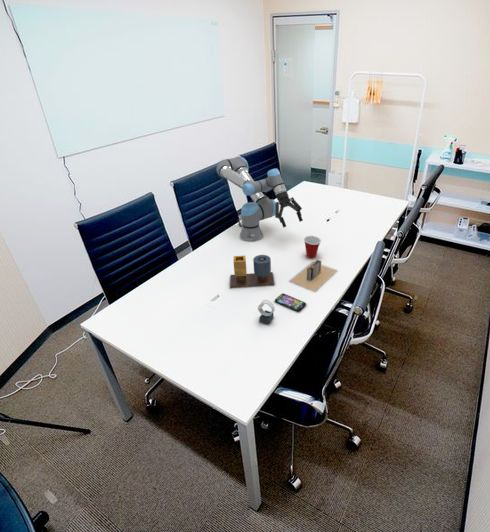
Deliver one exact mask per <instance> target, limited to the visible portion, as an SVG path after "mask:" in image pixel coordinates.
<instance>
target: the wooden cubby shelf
mask: <svg viewBox="0 0 490 532" xmlns="http://www.w3.org/2000/svg"><path fill="white" fill-rule="evenodd" d="M238 259H241V260H242V261H237V260H238ZM232 263H233V271H234V275H235V276H247V274H248V273H247V272H248V271H247V258H246V255H233V262H232Z"/></svg>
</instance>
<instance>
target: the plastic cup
mask: <svg viewBox="0 0 490 532" xmlns="http://www.w3.org/2000/svg"><path fill="white" fill-rule="evenodd" d="M303 242H304V247H305V254H306V257H307V258H308V259H315V258H316V257H317V253H318V250H319V247H320V244H321V242H322V239H321V238H320V237H318V236H314V235H306V236H305V237H303Z"/></svg>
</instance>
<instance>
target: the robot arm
mask: <svg viewBox="0 0 490 532" xmlns="http://www.w3.org/2000/svg"><path fill="white" fill-rule="evenodd" d="M215 169H216V173H217V175H218V176H219V178H221V179H223V180H226V181H229V182H230V183H231V184H233V185H235V186H236V187H238V188H240V189H241V191H242V193H243V194H244V195H245V196H249V197H250V199H251V200H252V201H249V202H246V203H244V204H243V205H242V206H241V209H240V210H241V211H240V214H241V221H240V220H239V219H236V222H238V223H239V227H241V231H240V239H242V240H243V241H245V242H256V241H259V240H260V239H262V238H263V232H262V228H261V226H260V222H261V221H263V220H267V219H270V218H273V217H275V219H278V220H279V222H280V224H281V225H282V228H287V224H286V222H285V219H284V217H283V211H284V209H285V208H287V207H289V208H291V209H292V210H294V211H295V213H296V215H297V218H298V222H303V217H302V212H301V211H302V209H303V208H302V207H301V205H300V204H299V203H298V202H297V201H296V199H295V198H294V197H293V196H292V197H289V196H290V195H289V193H288V191H287V188H286V186H285V185H286V184H285V182H284V181H283V177H282V175H281V173H280V170H279V169H278V168H272V169H269V170H268V171H267V173H266V174H267V177H266V178H264V179H260V180H256V181H255V180H254V179H253V177H252V176H251V174H249V164H248V161H247V160H246V158H245V157H243V156H235V157H231V158H226V159H221V160H220V161H219V162H218V163H217V164H216V168H215ZM272 189H273V192H274V194H275V197H276V200H277V201H276V200H274V199H272V198H271V199H270V198H269V196H267V195H265V194H264V193H267V192H269V191H271V190H272ZM263 192H264V193H263ZM241 224H242V225H241Z"/></svg>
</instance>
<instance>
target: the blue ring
mask: <svg viewBox="0 0 490 532" xmlns="http://www.w3.org/2000/svg"><path fill="white" fill-rule="evenodd" d="M260 258H264V261H260ZM252 260H253V273H255V274H256V275H258V276H266V275H268V274H270V272H272V261H271V257H270V256H269V255H266V254H258V255H256V256H254V257H253V259H252Z"/></svg>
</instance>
